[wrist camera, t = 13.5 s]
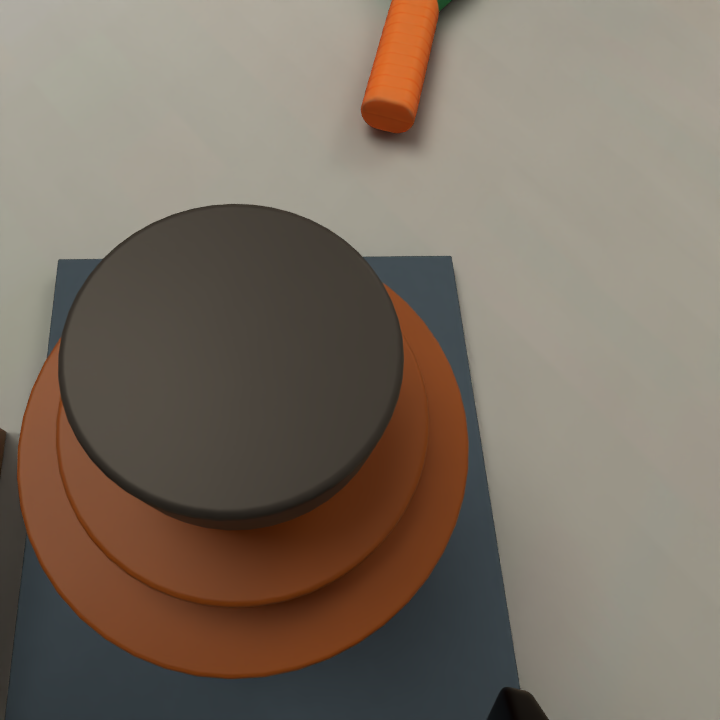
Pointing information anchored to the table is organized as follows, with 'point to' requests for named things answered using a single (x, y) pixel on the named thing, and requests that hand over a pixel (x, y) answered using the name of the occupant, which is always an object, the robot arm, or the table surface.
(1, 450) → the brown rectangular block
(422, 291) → the placemat
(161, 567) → the amber bottle
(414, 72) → the magnifying glass
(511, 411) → the table surface
